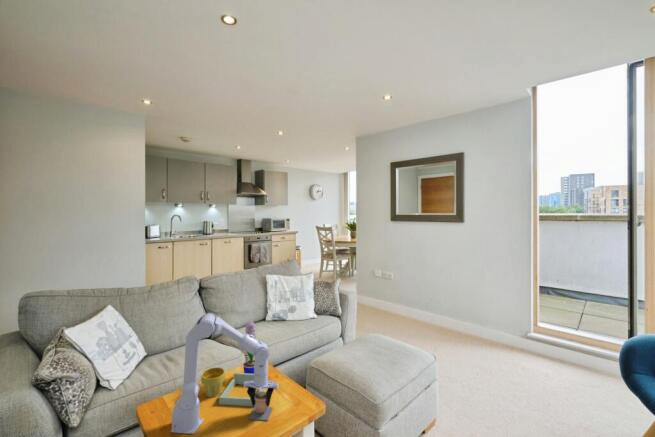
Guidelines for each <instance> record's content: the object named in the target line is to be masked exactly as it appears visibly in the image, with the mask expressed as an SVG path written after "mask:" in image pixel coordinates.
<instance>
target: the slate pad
mask: <svg viewBox="0 0 655 437" xmlns="http://www.w3.org/2000/svg"><path fill="white" fill-rule="evenodd" d="M273 408H274V407H273V406H269V407H267V410H266V411H265V412H263V413H257V412H256V411H255V406H253V409H252V411H251V413H250V415H249V417H248V420H249V421H261V422H262V421H263V422H265V421H266V422H268V421H269V418H270V416H271V413H272V411H273V410H274V409H273Z"/></svg>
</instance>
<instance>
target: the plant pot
mask: <svg viewBox="0 0 655 437" xmlns="http://www.w3.org/2000/svg"><path fill="white" fill-rule="evenodd" d="M200 376H201V377H200V378H201V380H200V381H201V384H202V385H203V390H204V395H205V396H206V397H208V398H215V397H217V396H219V395H220V394H221V391H222V386H223V383H224V380H225V379H226V370H225V369H224V368H222V367H216V366H215V367H210V368H208V369H207V368H206V370H204V371H203V372H202V373H201V375H200Z"/></svg>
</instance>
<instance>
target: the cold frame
mask: <svg viewBox="0 0 655 437" xmlns="http://www.w3.org/2000/svg"><path fill="white" fill-rule="evenodd" d="M253 380H254V374H247V373H244V372H234V373H233V379H232V380H231V381H230V382H229V384H228V385H227V387H226V388H225V389H224V391H222V394H221V395H220V396H219V398H218V399H219V400H218V403H219V405H227V406H228V405H229V406H243V407H255V405H254V406H252V402H251V399H250V397H240V396H239V397H238V396H229V394H230V393H231V392H232V390H233V389H234V388H235V387H236V385H244V382H245V381H253ZM266 389H267V388H265V389H261V390H258V392H260V391H265V392H266Z"/></svg>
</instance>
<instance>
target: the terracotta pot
mask: <svg viewBox="0 0 655 437" xmlns="http://www.w3.org/2000/svg"><path fill="white" fill-rule="evenodd" d="M266 392H267V391H266V390H265V391H260V392H259V391H258V392H257V391H256V394H255V395H254V399H255V406H254V407H255V411H256V412H257V413H263V412H265V411H266V410H267V396H266Z"/></svg>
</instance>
